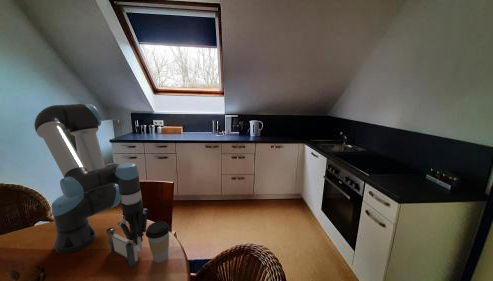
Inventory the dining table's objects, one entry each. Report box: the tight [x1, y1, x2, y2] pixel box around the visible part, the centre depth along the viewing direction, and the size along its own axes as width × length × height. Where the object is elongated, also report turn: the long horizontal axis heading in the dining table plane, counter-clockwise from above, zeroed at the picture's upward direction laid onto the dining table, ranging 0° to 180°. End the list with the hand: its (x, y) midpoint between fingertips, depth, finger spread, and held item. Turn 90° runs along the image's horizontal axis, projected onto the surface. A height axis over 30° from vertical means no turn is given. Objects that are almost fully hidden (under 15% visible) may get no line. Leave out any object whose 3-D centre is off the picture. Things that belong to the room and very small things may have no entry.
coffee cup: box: [145, 220, 171, 264], centre depth 91 cm, size 9×9×15 cm
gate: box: [112, 233, 139, 262], centre depth 92 cm, size 14×1×8 cm, turn 63°
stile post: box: [126, 243, 136, 268], centre depth 88 cm, size 2×2×10 cm
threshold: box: [114, 251, 138, 265], centre depth 93 cm, size 14×1×1 cm, turn 62°
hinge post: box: [106, 226, 116, 253], centre depth 96 cm, size 3×3×11 cm
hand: (139, 249), depth 95 cm, fingers closed
